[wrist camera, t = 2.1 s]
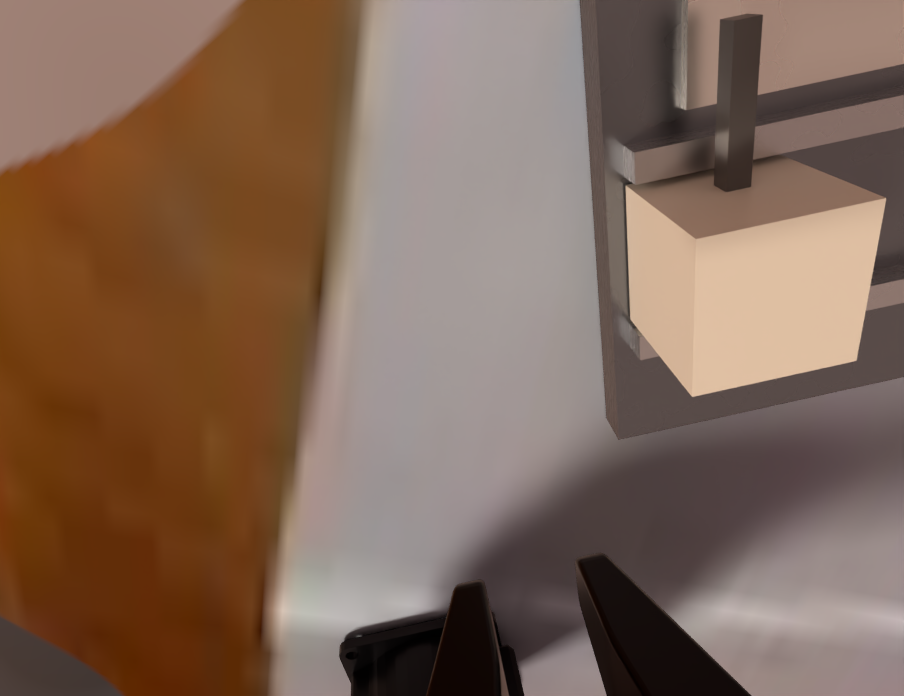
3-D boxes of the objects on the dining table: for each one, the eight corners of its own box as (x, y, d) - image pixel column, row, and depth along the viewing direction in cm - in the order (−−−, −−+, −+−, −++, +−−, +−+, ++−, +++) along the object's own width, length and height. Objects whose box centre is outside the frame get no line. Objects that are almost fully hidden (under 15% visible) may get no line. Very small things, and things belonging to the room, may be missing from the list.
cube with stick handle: (630, 319, 18) (692, 396, 15) (620, 31, 14) (700, 46, 11) (764, 289, 18) (856, 361, 15) (789, -5, 14) (923, -1, 11)
